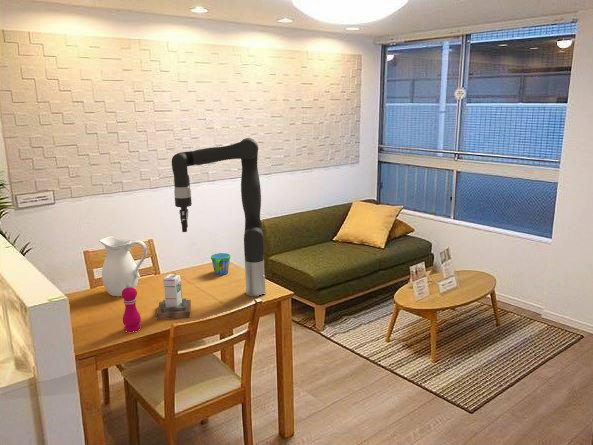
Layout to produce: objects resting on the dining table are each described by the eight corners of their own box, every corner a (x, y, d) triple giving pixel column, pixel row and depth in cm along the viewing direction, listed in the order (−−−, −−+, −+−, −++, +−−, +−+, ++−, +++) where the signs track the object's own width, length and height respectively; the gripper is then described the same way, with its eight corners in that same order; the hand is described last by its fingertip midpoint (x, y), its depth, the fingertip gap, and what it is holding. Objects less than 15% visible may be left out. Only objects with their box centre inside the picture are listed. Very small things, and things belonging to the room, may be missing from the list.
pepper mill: (135, 324, 208) (131, 279, 204) (145, 328, 204) (141, 283, 199) (120, 330, 203) (115, 284, 198) (129, 335, 198) (125, 288, 194)
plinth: (190, 304, 228) (190, 296, 227) (189, 316, 215) (189, 308, 214) (159, 307, 226) (159, 298, 225) (156, 319, 213) (156, 311, 212)
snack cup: (217, 268, 280) (217, 251, 277) (235, 269, 277) (234, 252, 275) (206, 277, 265) (205, 259, 263) (225, 278, 263) (224, 260, 260)
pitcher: (96, 297, 238) (90, 242, 232) (116, 285, 254) (111, 233, 247) (140, 301, 232) (135, 245, 226) (158, 289, 248) (154, 236, 242)
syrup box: (178, 309, 216) (175, 278, 213) (165, 309, 217) (162, 278, 214) (183, 304, 222) (180, 274, 219) (170, 304, 223) (168, 273, 220)
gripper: (190, 198, 222) (192, 233, 226) (191, 193, 236) (193, 225, 239) (173, 199, 221) (176, 233, 225) (175, 193, 234) (177, 226, 238)
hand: (185, 229), depth 232 cm, fingers open, 8 cm apart
